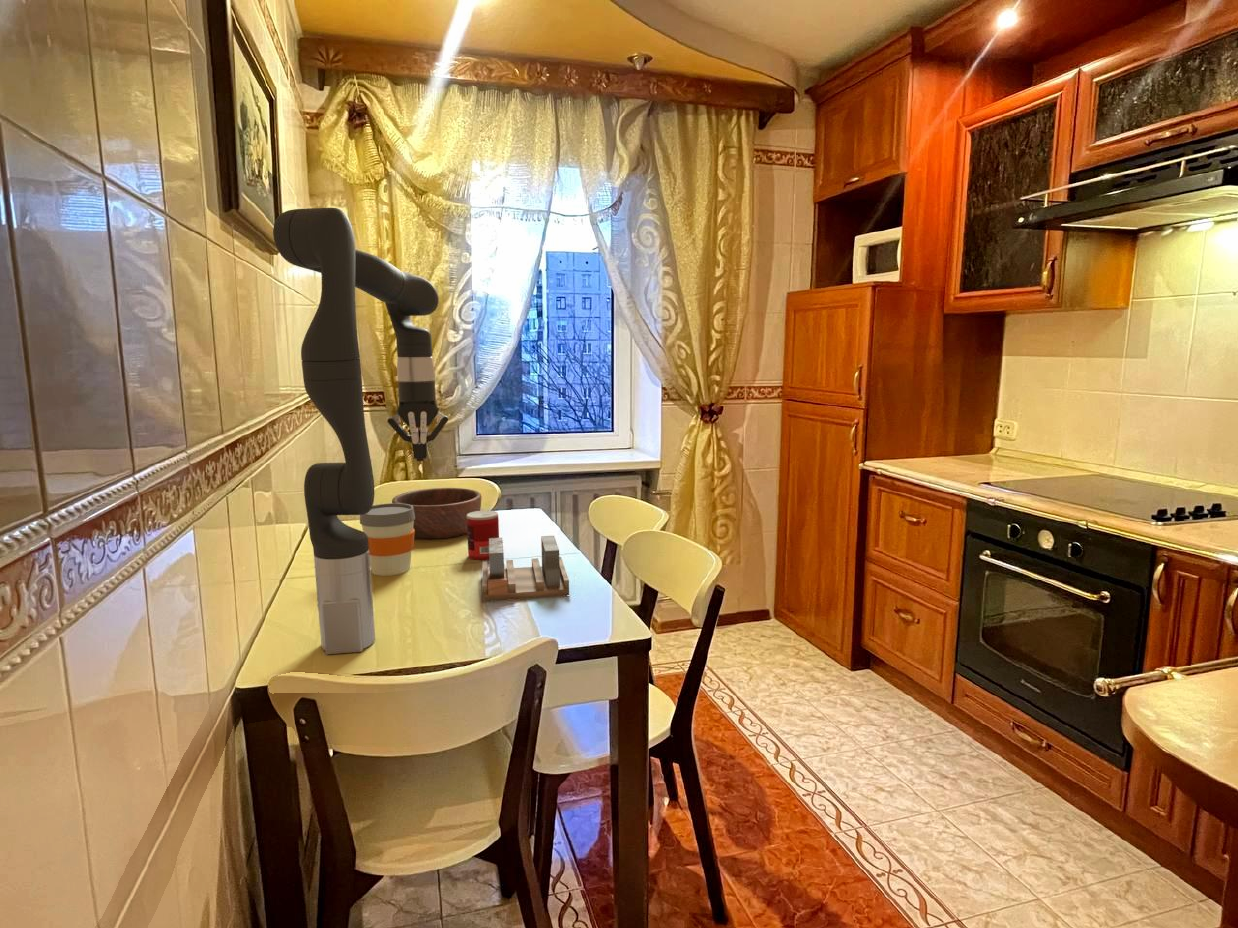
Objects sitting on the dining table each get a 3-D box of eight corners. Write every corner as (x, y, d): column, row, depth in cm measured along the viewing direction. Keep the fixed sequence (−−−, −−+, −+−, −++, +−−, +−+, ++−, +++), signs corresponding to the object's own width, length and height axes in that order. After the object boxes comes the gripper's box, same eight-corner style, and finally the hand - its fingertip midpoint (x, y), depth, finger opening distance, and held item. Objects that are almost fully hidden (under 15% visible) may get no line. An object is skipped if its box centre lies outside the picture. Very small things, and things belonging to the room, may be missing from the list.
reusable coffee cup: (402, 579, 166) (398, 516, 163) (352, 576, 168) (348, 514, 165) (427, 563, 178) (423, 504, 175) (380, 560, 180) (376, 502, 178)
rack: (569, 595, 154) (568, 553, 152) (482, 601, 151) (481, 558, 149) (561, 571, 171) (560, 532, 169) (483, 576, 167) (481, 536, 166)
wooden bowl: (410, 520, 221) (408, 487, 219) (491, 520, 220) (489, 487, 218) (380, 542, 197) (378, 506, 195) (471, 542, 196) (469, 506, 194)
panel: (504, 588, 154) (503, 552, 153) (490, 589, 153) (489, 553, 152) (503, 571, 166) (502, 537, 164) (490, 571, 165) (489, 538, 164)
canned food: (505, 553, 185) (504, 512, 183) (485, 562, 178) (483, 518, 176) (483, 549, 189) (481, 508, 187) (462, 557, 182) (460, 515, 180)
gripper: (380, 380, 145) (386, 464, 148) (447, 379, 148) (451, 462, 151) (385, 378, 153) (390, 459, 156) (449, 377, 155) (453, 456, 158)
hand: (420, 460), depth 153 cm, fingers closed
